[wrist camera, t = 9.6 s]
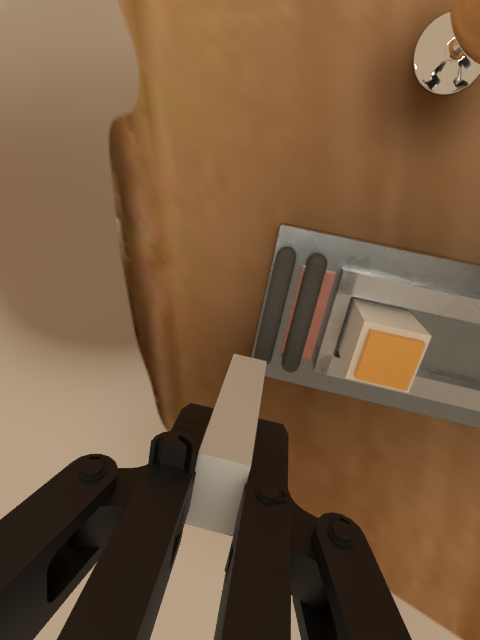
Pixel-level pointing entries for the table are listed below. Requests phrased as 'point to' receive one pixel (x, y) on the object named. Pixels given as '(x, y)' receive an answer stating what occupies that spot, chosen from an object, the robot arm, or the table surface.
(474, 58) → the wineglass
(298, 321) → the twin grey rollers
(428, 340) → the toggle
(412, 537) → the table surface
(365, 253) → the panel
